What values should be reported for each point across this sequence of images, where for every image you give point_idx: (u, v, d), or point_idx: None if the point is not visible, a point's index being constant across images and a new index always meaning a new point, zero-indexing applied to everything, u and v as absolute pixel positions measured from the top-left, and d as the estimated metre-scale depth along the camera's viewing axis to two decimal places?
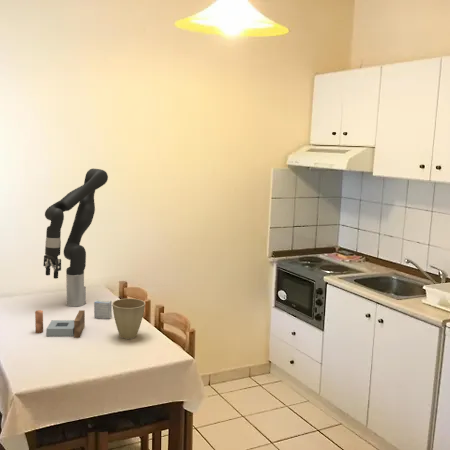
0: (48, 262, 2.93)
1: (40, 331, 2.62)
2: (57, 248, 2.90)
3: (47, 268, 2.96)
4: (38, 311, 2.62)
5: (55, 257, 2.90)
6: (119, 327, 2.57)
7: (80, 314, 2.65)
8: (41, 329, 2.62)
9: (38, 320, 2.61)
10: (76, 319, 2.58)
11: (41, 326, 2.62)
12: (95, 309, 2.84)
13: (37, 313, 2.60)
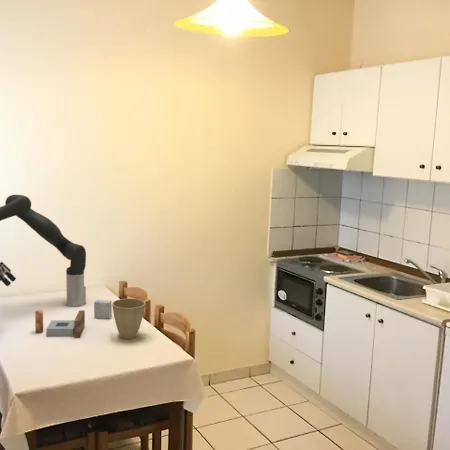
0: None
1: (40, 331, 2.62)
2: None
3: (7, 275, 2.62)
4: (38, 311, 2.62)
5: None
6: (119, 327, 2.57)
7: (80, 314, 2.65)
8: (41, 329, 2.62)
9: (38, 320, 2.61)
10: (76, 319, 2.58)
11: (41, 326, 2.62)
12: (95, 309, 2.84)
13: (37, 313, 2.60)
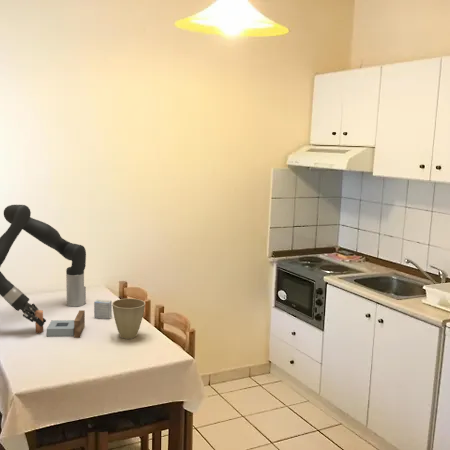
0: None
1: (40, 331, 2.62)
2: (16, 301, 2.56)
3: None
4: (38, 311, 2.62)
5: (22, 309, 2.57)
6: (119, 327, 2.57)
7: (80, 314, 2.65)
8: (41, 329, 2.62)
9: None
10: (76, 319, 2.58)
11: None
12: (95, 309, 2.84)
13: (37, 313, 2.60)
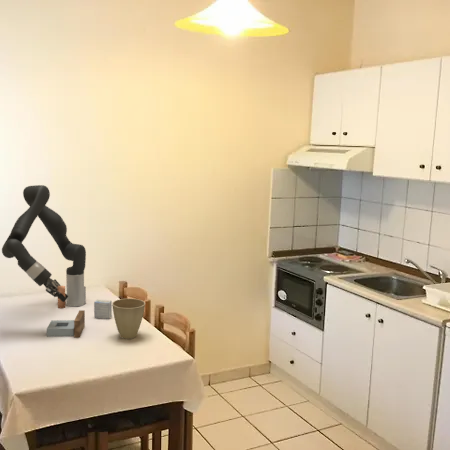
0: None
1: (62, 306, 2.61)
2: (38, 275, 2.55)
3: None
4: (60, 286, 2.61)
5: (44, 284, 2.56)
6: (119, 327, 2.57)
7: (80, 314, 2.65)
8: (63, 304, 2.61)
9: None
10: (76, 319, 2.58)
11: None
12: (95, 309, 2.84)
13: (59, 288, 2.59)
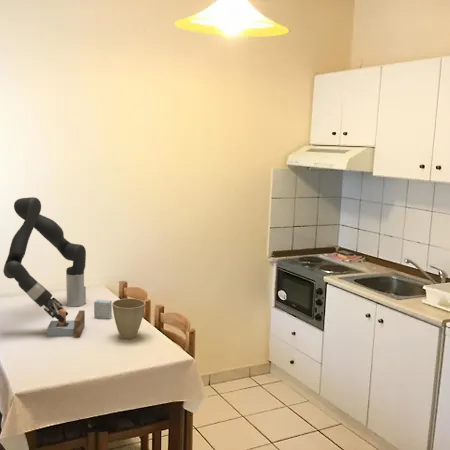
0: None
1: None
2: (39, 296, 2.57)
3: None
4: (61, 310, 2.62)
5: (45, 305, 2.58)
6: (119, 327, 2.57)
7: (80, 314, 2.65)
8: None
9: None
10: (76, 319, 2.58)
11: (64, 325, 2.63)
12: (95, 309, 2.84)
13: (60, 312, 2.61)
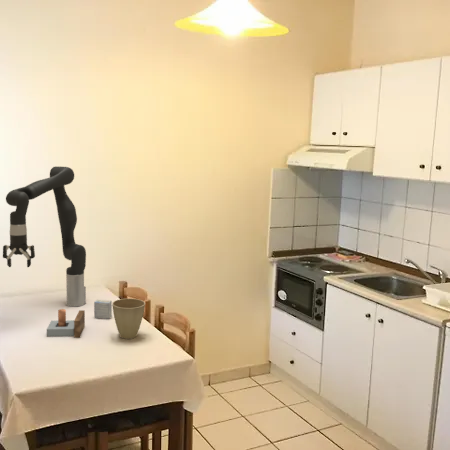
0: (14, 252, 2.67)
1: None
2: (26, 234, 2.68)
3: (10, 259, 2.68)
4: (61, 310, 2.63)
5: (26, 244, 2.68)
6: (119, 327, 2.57)
7: (80, 314, 2.65)
8: None
9: (61, 319, 2.62)
10: (76, 319, 2.58)
11: (64, 325, 2.63)
12: (95, 309, 2.84)
13: (60, 312, 2.61)
